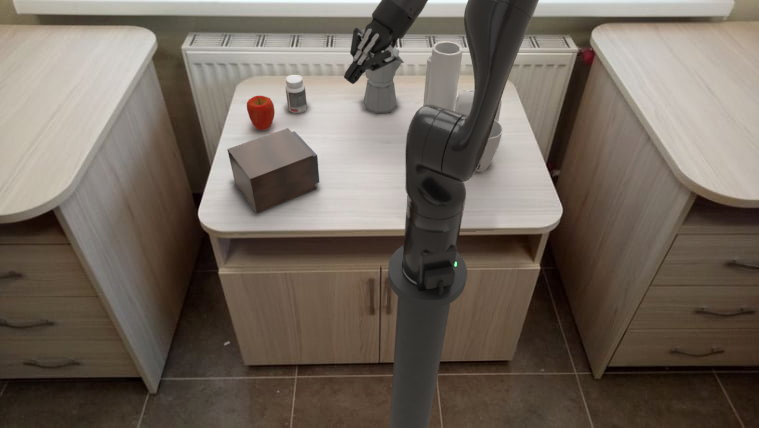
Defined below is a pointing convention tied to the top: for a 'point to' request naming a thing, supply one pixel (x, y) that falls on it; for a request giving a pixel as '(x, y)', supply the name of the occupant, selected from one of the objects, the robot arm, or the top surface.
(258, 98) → the apple
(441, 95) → the vase
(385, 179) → the top surface
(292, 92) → the pill bottle
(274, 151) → the cabinet
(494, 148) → the cup
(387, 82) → the coffee maker
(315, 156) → the drawer
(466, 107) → the photo printer
